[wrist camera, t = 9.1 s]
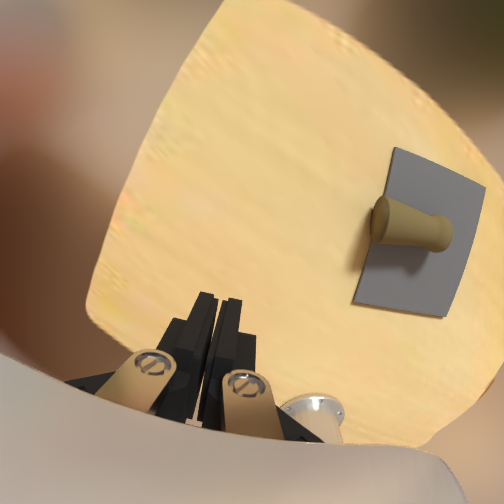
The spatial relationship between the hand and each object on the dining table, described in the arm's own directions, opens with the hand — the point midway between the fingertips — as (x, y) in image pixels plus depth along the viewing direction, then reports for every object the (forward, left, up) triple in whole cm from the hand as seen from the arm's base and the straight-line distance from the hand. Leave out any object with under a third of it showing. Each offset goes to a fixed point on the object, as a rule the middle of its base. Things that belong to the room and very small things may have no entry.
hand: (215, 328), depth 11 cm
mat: (+3, -26, -27) cm, 38 cm away
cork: (+4, -16, -24) cm, 29 cm away
